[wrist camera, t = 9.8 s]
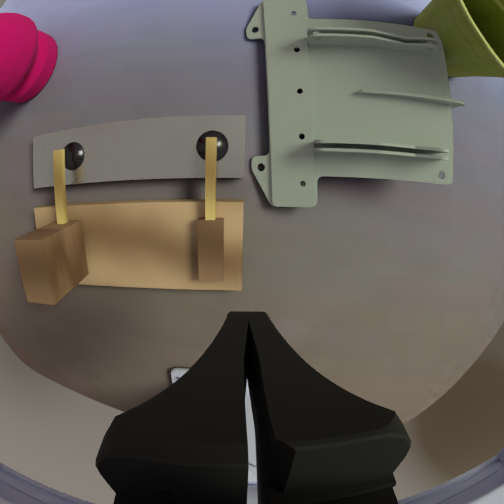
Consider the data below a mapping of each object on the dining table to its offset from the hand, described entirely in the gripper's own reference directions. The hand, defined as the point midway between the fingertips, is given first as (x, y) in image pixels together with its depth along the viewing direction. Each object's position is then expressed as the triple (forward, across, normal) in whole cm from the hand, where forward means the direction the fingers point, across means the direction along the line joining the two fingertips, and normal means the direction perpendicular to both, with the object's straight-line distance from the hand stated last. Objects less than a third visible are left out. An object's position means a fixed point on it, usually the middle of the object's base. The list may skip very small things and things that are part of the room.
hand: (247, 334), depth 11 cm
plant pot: (+11, -16, -18) cm, 26 cm away
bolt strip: (+10, +8, -7) cm, 15 cm away
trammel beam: (+10, +8, -2) cm, 13 cm away
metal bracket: (+11, -7, -11) cm, 17 cm away
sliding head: (+9, +12, -3) cm, 16 cm away
